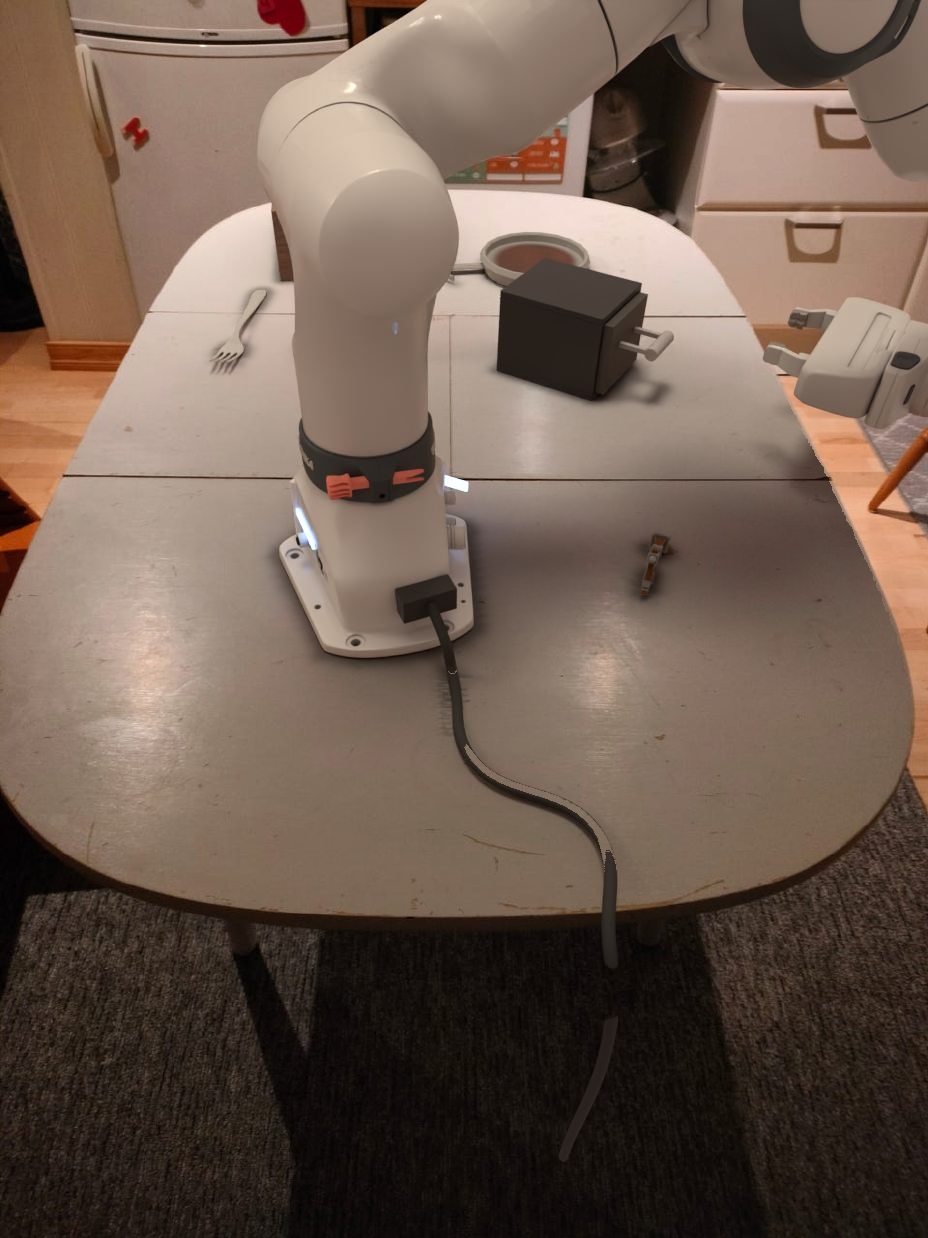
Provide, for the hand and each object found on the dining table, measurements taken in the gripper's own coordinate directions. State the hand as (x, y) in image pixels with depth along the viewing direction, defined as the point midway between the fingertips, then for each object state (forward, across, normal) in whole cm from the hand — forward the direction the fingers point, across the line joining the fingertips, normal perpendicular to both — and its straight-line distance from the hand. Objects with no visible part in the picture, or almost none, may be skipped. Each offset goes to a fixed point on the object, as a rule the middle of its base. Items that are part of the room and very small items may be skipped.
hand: (778, 332), depth 94 cm
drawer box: (+25, 0, +11) cm, 28 cm away
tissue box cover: (+75, -14, +11) cm, 77 cm away
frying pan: (+47, -21, +12) cm, 52 cm away
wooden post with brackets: (0, +31, +12) cm, 33 cm away
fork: (+67, +15, +11) cm, 69 cm away
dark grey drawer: (+21, 0, +11) cm, 24 cm away
